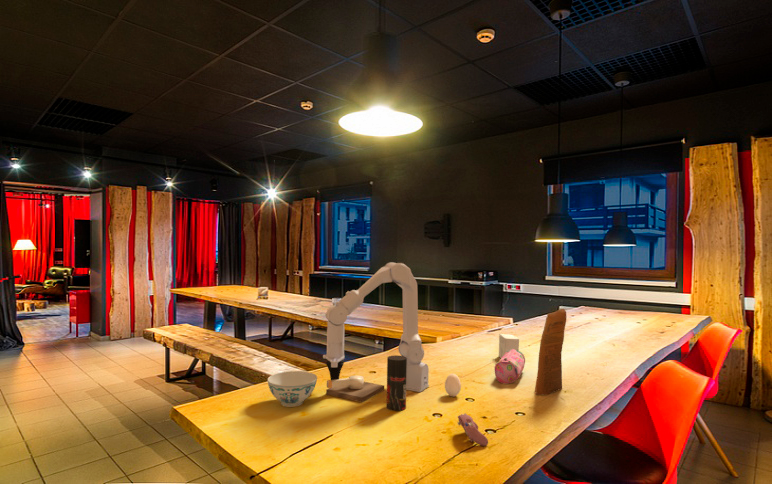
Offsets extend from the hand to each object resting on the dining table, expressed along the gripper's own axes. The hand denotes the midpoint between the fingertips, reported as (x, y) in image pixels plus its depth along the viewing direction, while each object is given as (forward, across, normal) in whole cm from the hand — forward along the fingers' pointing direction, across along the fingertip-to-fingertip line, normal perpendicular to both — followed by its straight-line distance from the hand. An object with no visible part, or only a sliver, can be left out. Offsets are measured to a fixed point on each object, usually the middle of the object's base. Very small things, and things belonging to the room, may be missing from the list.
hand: (334, 383), depth 142 cm
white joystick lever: (+1, 0, +4) cm, 4 cm away
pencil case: (+4, -18, +66) cm, 69 cm away
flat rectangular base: (+3, -1, +7) cm, 8 cm away
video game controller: (+3, +35, +36) cm, 51 cm away
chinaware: (+3, +8, -13) cm, 16 cm away
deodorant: (+3, +13, +19) cm, 23 cm away
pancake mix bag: (+3, -2, +75) cm, 75 cm away
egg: (+3, +3, +39) cm, 39 cm away
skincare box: (+4, -44, +75) cm, 87 cm away
